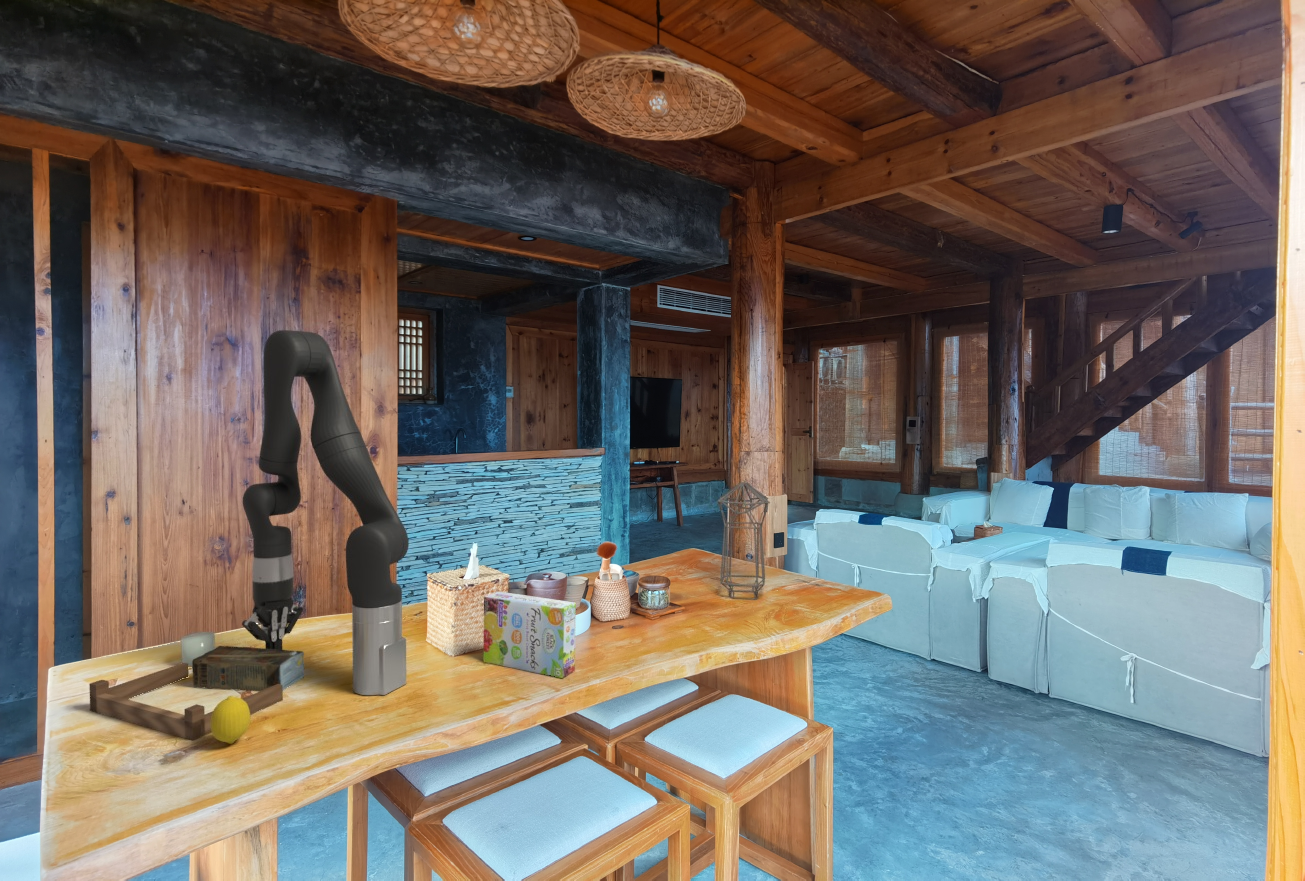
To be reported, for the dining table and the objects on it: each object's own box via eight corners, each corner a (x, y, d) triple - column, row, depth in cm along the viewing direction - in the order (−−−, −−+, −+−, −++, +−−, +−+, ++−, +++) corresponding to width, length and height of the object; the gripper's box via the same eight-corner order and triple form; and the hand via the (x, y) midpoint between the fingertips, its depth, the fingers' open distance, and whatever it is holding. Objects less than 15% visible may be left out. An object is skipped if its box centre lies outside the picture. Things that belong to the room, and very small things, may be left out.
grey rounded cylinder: (221, 660, 145) (221, 634, 145) (193, 670, 139) (193, 642, 139) (203, 656, 147) (202, 630, 147) (175, 666, 142) (174, 638, 141)
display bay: (282, 700, 125) (282, 674, 125) (192, 740, 110) (192, 711, 110) (184, 676, 136) (184, 652, 136) (90, 710, 120) (89, 683, 120)
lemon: (221, 755, 105) (220, 706, 105) (204, 745, 108) (203, 698, 108) (257, 741, 110) (256, 694, 109) (240, 732, 113) (239, 686, 112)
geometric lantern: (716, 601, 195) (716, 483, 194) (719, 588, 210) (719, 479, 210) (770, 603, 192) (770, 484, 192) (769, 590, 208) (769, 480, 207)
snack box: (576, 670, 141) (577, 601, 141) (562, 679, 136) (563, 608, 136) (497, 654, 150) (497, 589, 150) (481, 662, 145) (481, 595, 145)
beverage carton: (280, 694, 128) (280, 661, 128) (189, 690, 130) (189, 657, 130) (305, 678, 136) (305, 647, 136) (219, 674, 138) (219, 643, 138)
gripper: (256, 585, 131) (257, 671, 132) (312, 571, 143) (313, 649, 144) (230, 581, 134) (231, 665, 135) (288, 567, 146) (289, 644, 147)
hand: (274, 656), depth 139 cm, fingers closed
